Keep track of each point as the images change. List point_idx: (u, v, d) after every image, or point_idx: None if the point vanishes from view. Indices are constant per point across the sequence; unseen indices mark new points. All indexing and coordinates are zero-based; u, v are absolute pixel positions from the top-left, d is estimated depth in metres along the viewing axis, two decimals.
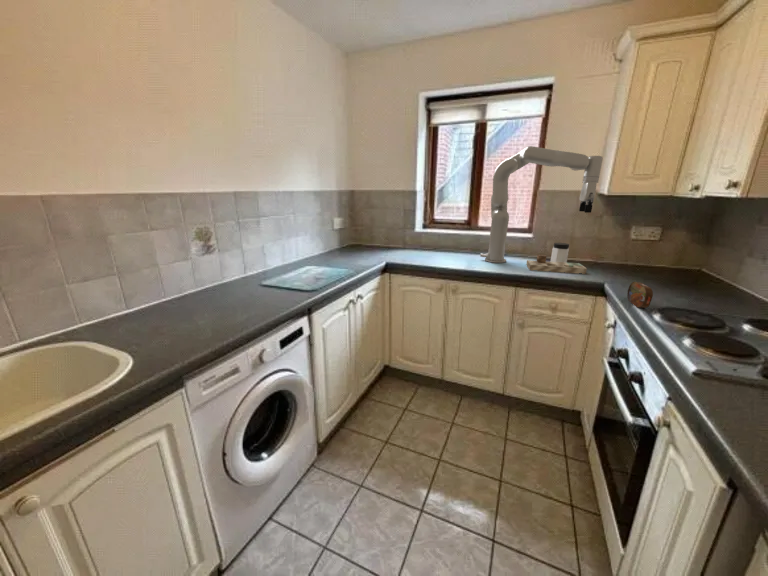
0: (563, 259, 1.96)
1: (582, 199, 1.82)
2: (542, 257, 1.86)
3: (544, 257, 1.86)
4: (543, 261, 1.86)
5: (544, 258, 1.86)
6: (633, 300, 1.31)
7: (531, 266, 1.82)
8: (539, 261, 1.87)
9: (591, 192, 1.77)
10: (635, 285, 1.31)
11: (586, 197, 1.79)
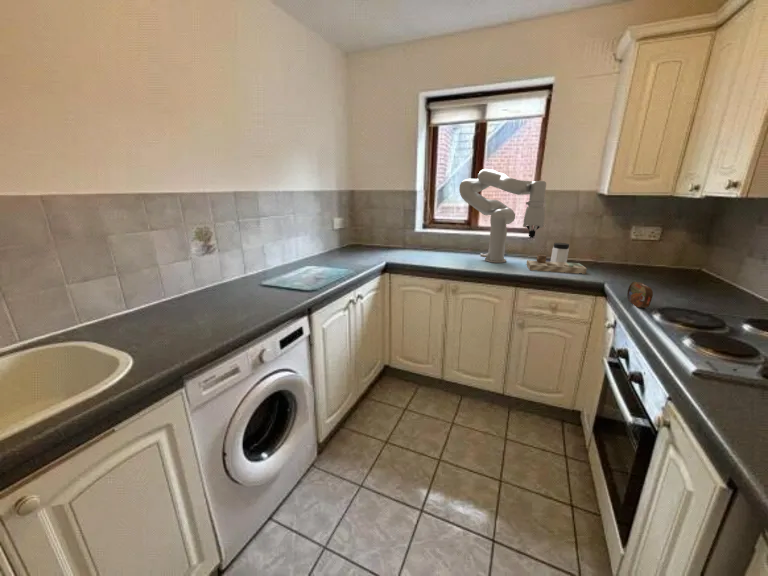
0: (563, 259, 1.96)
1: (537, 223, 1.81)
2: (542, 257, 1.86)
3: (544, 257, 1.86)
4: (543, 261, 1.86)
5: (544, 258, 1.86)
6: (633, 300, 1.31)
7: (531, 266, 1.82)
8: (539, 261, 1.87)
9: None
10: (635, 285, 1.31)
11: (543, 221, 1.81)
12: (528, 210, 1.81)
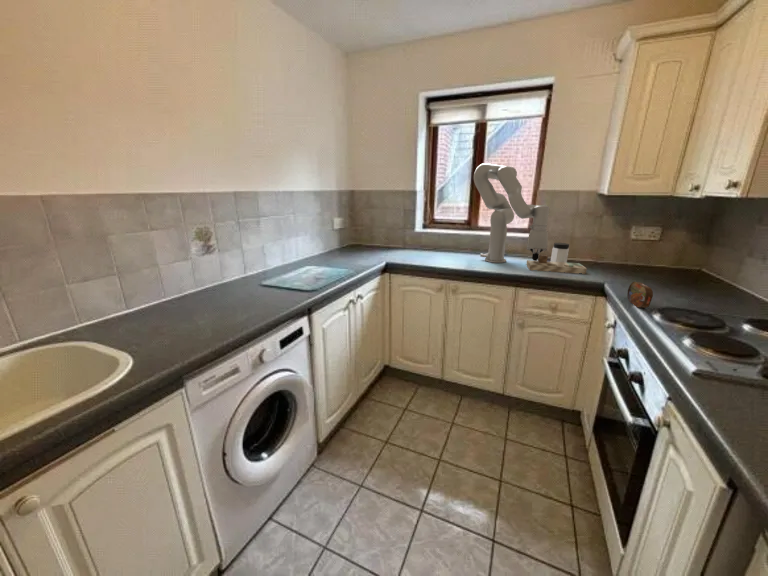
0: (563, 259, 1.96)
1: (540, 247, 1.84)
2: (543, 257, 1.86)
3: (545, 257, 1.86)
4: (544, 261, 1.86)
5: (545, 258, 1.86)
6: (633, 300, 1.31)
7: (531, 266, 1.82)
8: (540, 261, 1.87)
9: None
10: (635, 285, 1.31)
11: None
12: (531, 234, 1.84)
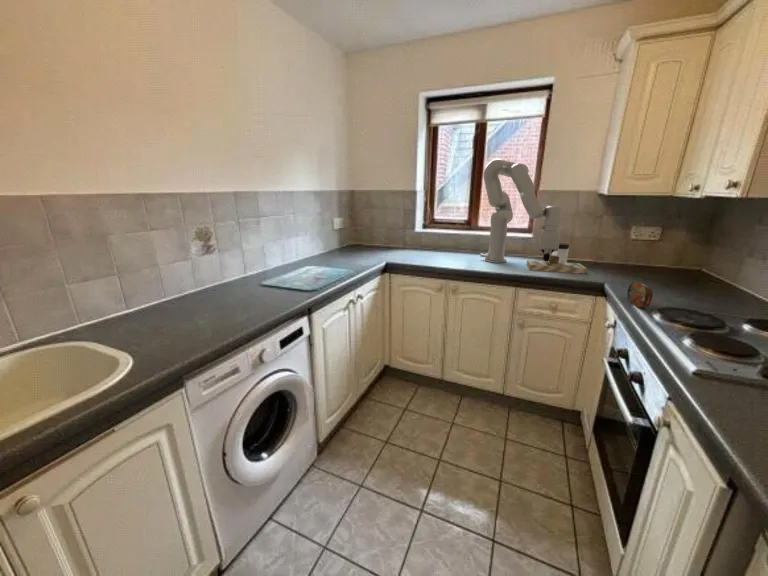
0: (563, 259, 1.96)
1: (552, 247, 1.83)
2: (555, 258, 1.84)
3: (557, 258, 1.84)
4: (556, 262, 1.85)
5: (557, 259, 1.84)
6: (633, 300, 1.31)
7: (531, 266, 1.82)
8: (552, 262, 1.85)
9: None
10: (635, 285, 1.31)
11: (558, 245, 1.82)
12: (543, 234, 1.82)
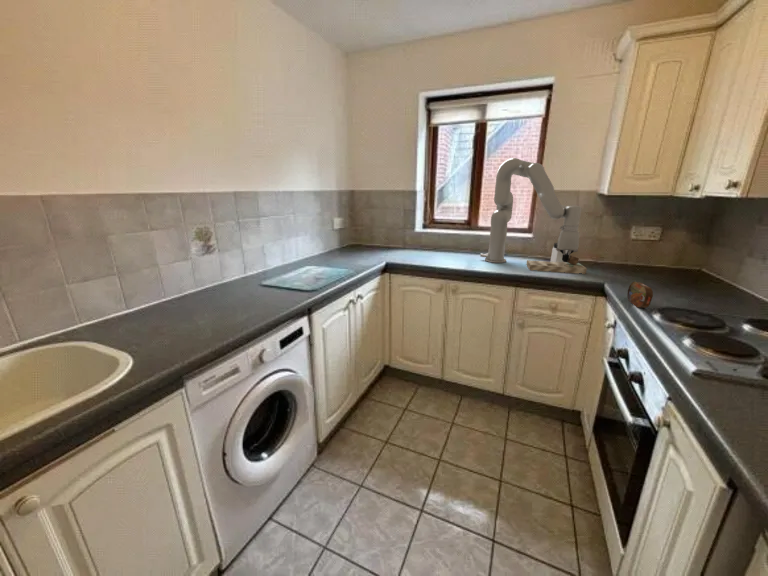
0: None
1: (571, 248, 1.80)
2: (575, 258, 1.82)
3: (576, 259, 1.82)
4: (574, 262, 1.82)
5: (576, 260, 1.82)
6: (633, 300, 1.31)
7: (531, 266, 1.82)
8: (570, 262, 1.83)
9: None
10: (636, 285, 1.31)
11: None
12: (562, 235, 1.80)
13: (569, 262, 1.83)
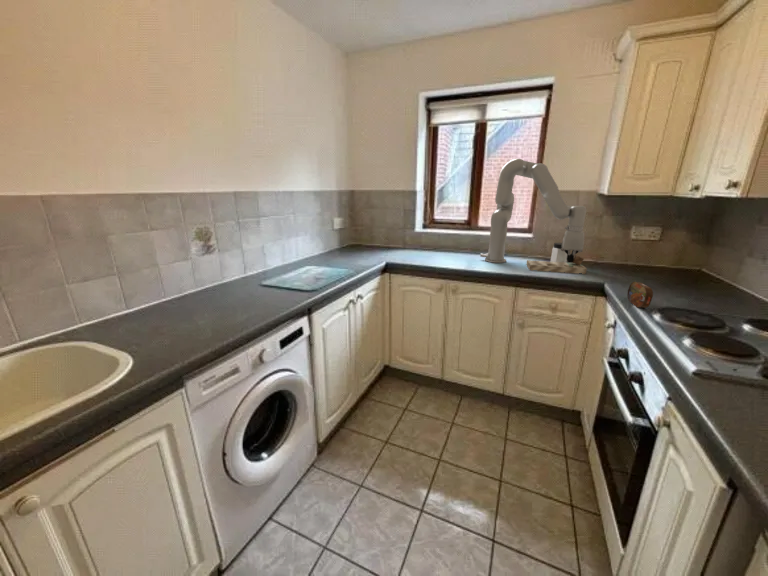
0: (563, 259, 1.96)
1: (576, 248, 1.80)
2: (579, 258, 1.81)
3: (581, 259, 1.81)
4: (578, 263, 1.82)
5: (581, 260, 1.81)
6: (633, 300, 1.31)
7: (531, 266, 1.82)
8: (575, 261, 1.82)
9: None
10: (636, 285, 1.31)
11: (583, 246, 1.79)
12: (567, 235, 1.79)
13: (573, 262, 1.82)
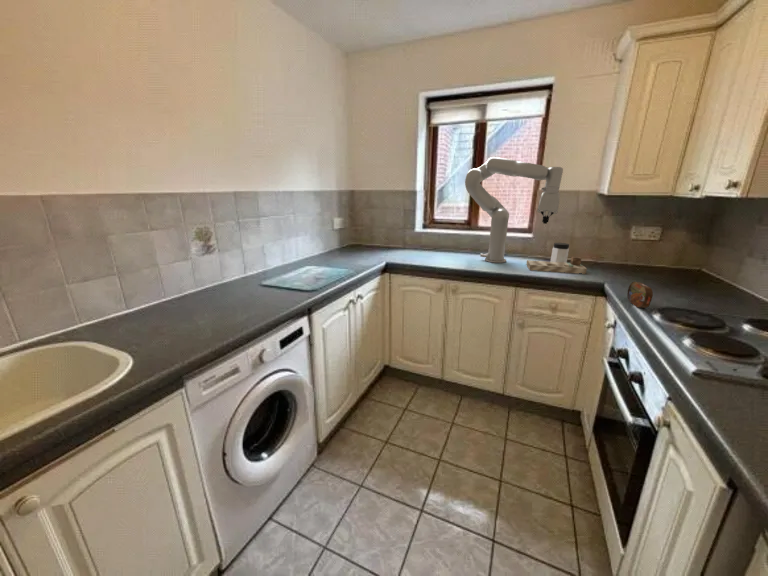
0: (563, 259, 1.96)
1: (551, 209, 1.84)
2: (577, 259, 1.81)
3: (579, 259, 1.81)
4: (578, 263, 1.82)
5: (579, 260, 1.81)
6: (633, 300, 1.31)
7: (531, 266, 1.82)
8: (573, 263, 1.82)
9: None
10: (635, 285, 1.31)
11: (558, 207, 1.83)
12: (543, 195, 1.83)
13: (572, 264, 1.83)
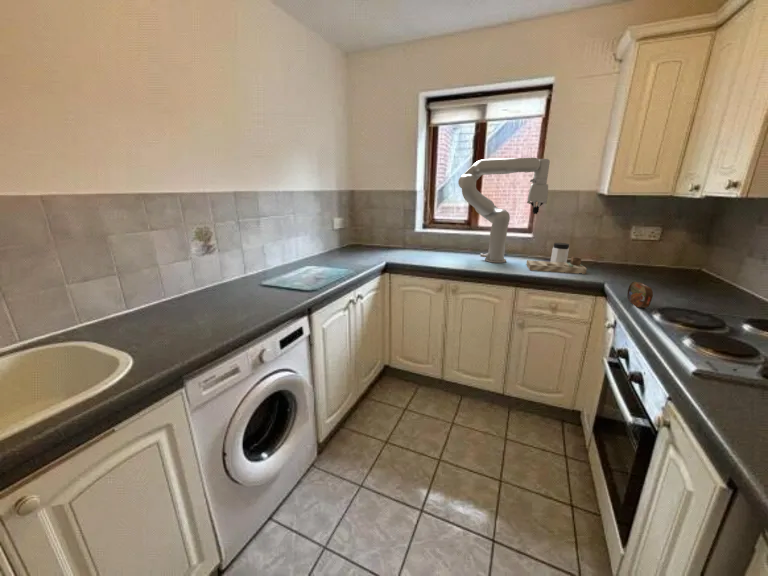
0: (563, 259, 1.96)
1: (541, 200, 1.91)
2: (577, 259, 1.81)
3: (579, 259, 1.81)
4: (578, 263, 1.82)
5: (579, 260, 1.81)
6: (633, 300, 1.31)
7: (531, 266, 1.82)
8: (573, 263, 1.82)
9: None
10: (635, 285, 1.31)
11: None
12: (532, 187, 1.91)
13: (572, 264, 1.83)
